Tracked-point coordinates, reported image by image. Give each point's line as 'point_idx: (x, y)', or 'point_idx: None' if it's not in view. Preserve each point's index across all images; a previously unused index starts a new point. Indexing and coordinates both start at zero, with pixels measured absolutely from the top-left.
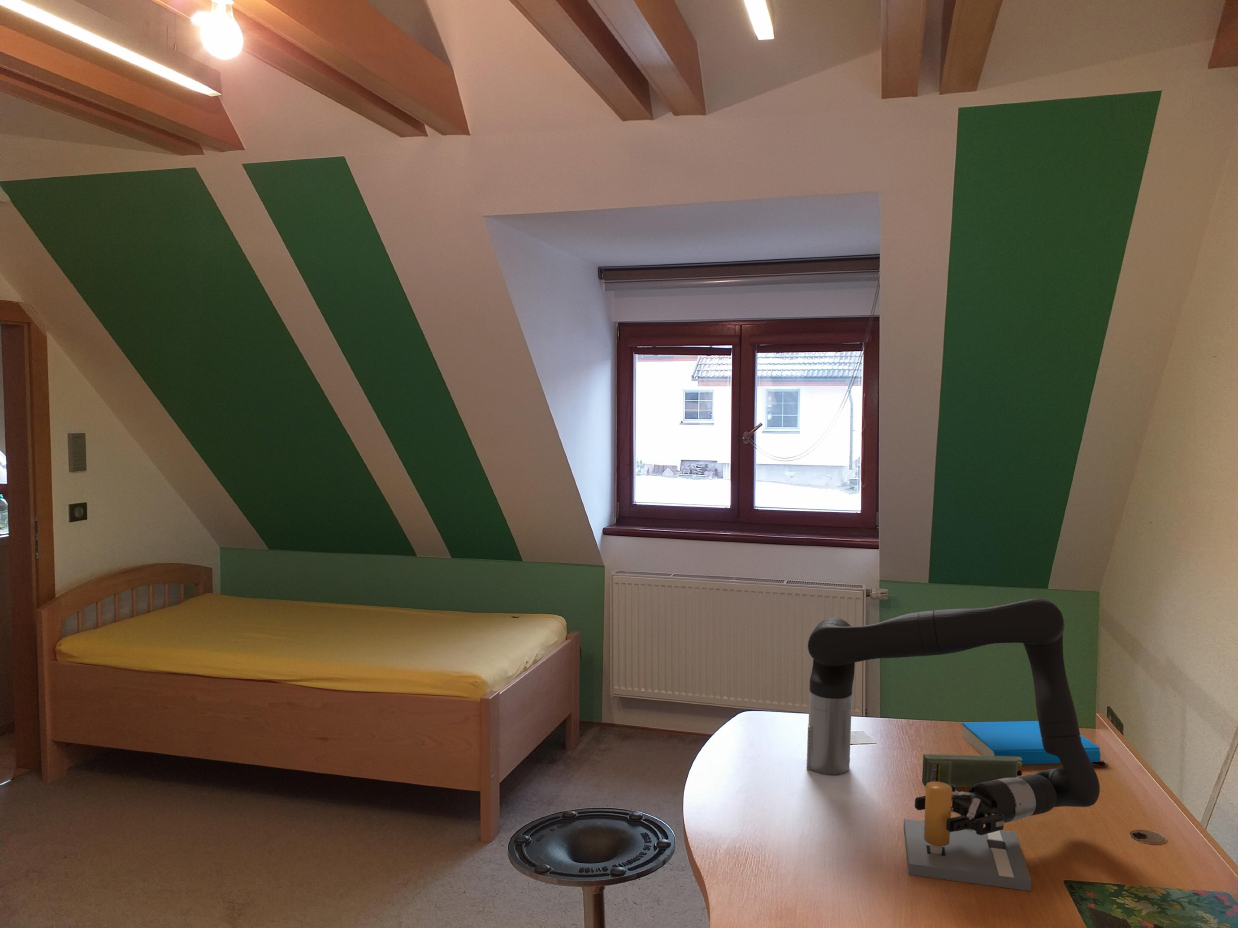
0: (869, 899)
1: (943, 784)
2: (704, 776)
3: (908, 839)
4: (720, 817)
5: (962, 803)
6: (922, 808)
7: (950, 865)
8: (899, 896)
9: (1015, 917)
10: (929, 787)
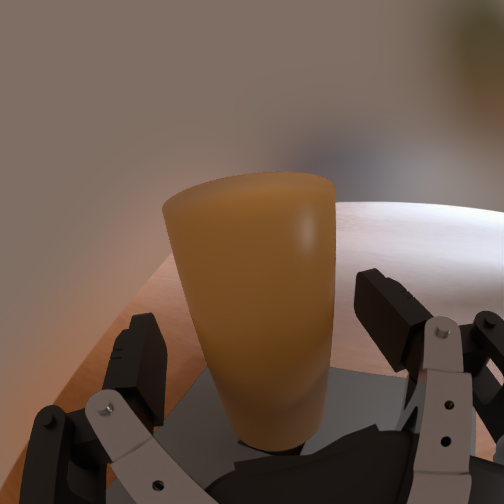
0: (181, 290)
1: (284, 204)
2: (482, 211)
3: (352, 376)
4: (399, 212)
5: (307, 470)
6: (366, 326)
7: (184, 428)
8: (168, 323)
9: (25, 449)
10: (251, 176)
